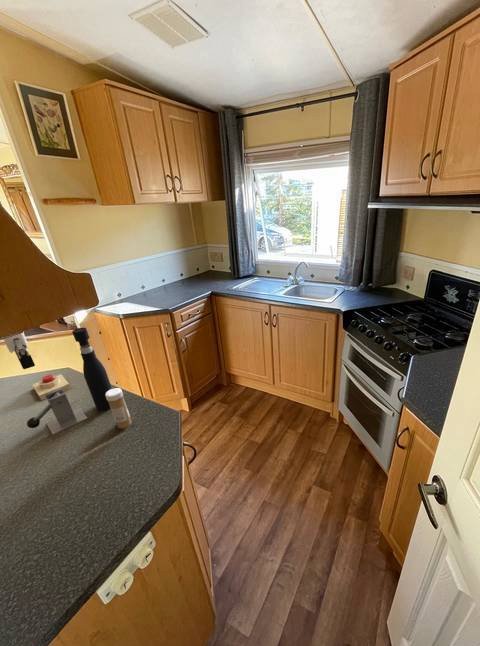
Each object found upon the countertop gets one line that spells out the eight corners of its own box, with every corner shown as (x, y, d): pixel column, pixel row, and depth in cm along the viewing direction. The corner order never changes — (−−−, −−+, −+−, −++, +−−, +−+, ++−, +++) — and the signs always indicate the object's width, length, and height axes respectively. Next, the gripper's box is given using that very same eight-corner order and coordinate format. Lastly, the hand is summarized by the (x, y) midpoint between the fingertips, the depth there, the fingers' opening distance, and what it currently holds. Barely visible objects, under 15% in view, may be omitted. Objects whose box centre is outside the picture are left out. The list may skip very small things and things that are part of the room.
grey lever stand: (53, 437, 90) (38, 406, 85) (47, 426, 95) (33, 396, 90) (88, 420, 97) (76, 391, 92) (81, 410, 102) (69, 382, 97)
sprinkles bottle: (135, 421, 95) (124, 387, 89) (127, 431, 91) (116, 396, 85) (122, 421, 96) (110, 387, 90) (114, 430, 92) (101, 396, 86)
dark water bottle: (121, 405, 104) (94, 328, 91) (103, 415, 99) (73, 335, 86) (111, 399, 107) (84, 324, 94) (93, 409, 102) (63, 331, 89)
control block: (70, 388, 116) (67, 380, 114) (41, 400, 109) (36, 391, 107) (62, 378, 123) (59, 370, 121) (34, 388, 117) (30, 380, 115)
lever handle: (35, 431, 88) (25, 427, 86) (33, 427, 90) (22, 422, 88) (66, 399, 92) (57, 394, 90) (63, 395, 94) (54, 390, 92)
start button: (55, 380, 114) (53, 376, 114) (44, 384, 112) (43, 380, 111) (53, 377, 117) (51, 373, 116) (42, 381, 114) (40, 377, 114)
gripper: (-14, 312, 94) (9, 358, 101) (-9, 324, 83) (16, 376, 90) (15, 306, 98) (35, 351, 106) (23, 317, 87) (45, 366, 95)
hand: (26, 362), depth 98 cm, fingers open, 9 cm apart
